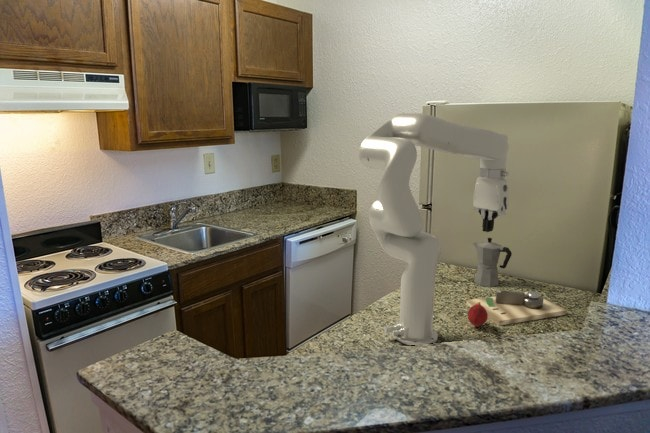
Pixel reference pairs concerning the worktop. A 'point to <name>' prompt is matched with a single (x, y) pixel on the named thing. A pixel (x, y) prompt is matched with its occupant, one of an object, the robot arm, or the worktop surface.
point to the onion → (477, 315)
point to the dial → (520, 298)
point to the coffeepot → (489, 262)
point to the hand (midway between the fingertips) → (487, 230)
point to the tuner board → (516, 311)
